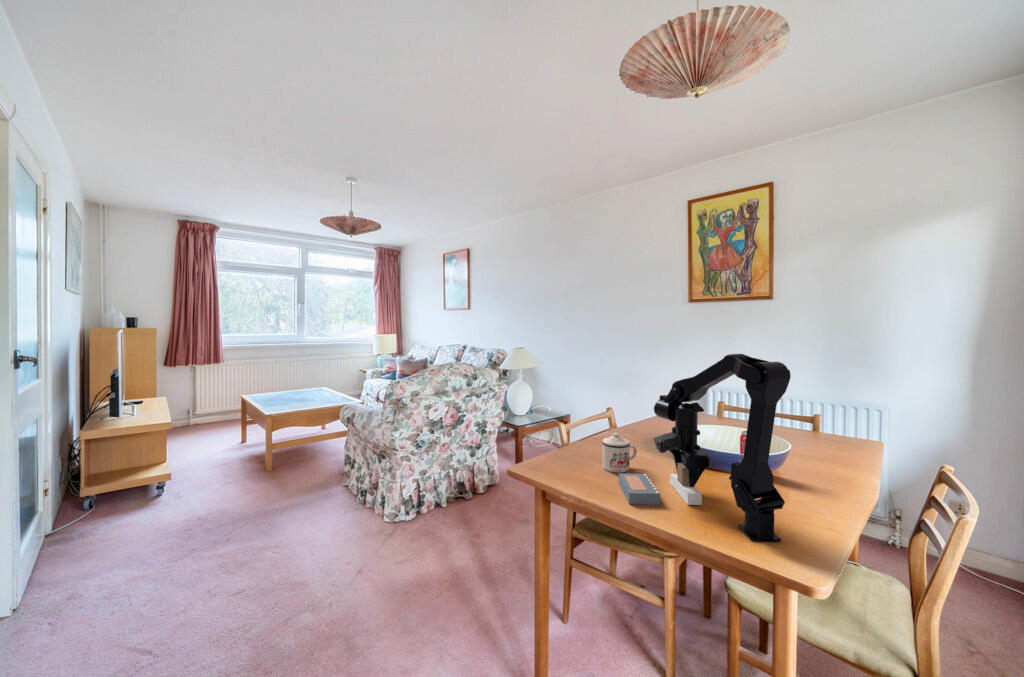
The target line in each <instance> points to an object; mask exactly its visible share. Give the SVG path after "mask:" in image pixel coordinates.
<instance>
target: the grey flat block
mask: <svg viewBox="0 0 1024 677" xmlns="http://www.w3.org/2000/svg"><path fill="white" fill-rule="evenodd" d="M618 485H619V486H620V488H621V491H622V493H623V494H624V497H625V498H626V501H627V502H628V504H629V505H643V506H644V505H646V506H647V505H648V506H650V505H652V506H660V505H661V494H660V493H661V492H659V491H658V489H657V487H656V486H655V485H654V483H653V481H651V479H650V478H649V477H648V475H647V474H646V473H625V472H622V473H618Z"/></svg>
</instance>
